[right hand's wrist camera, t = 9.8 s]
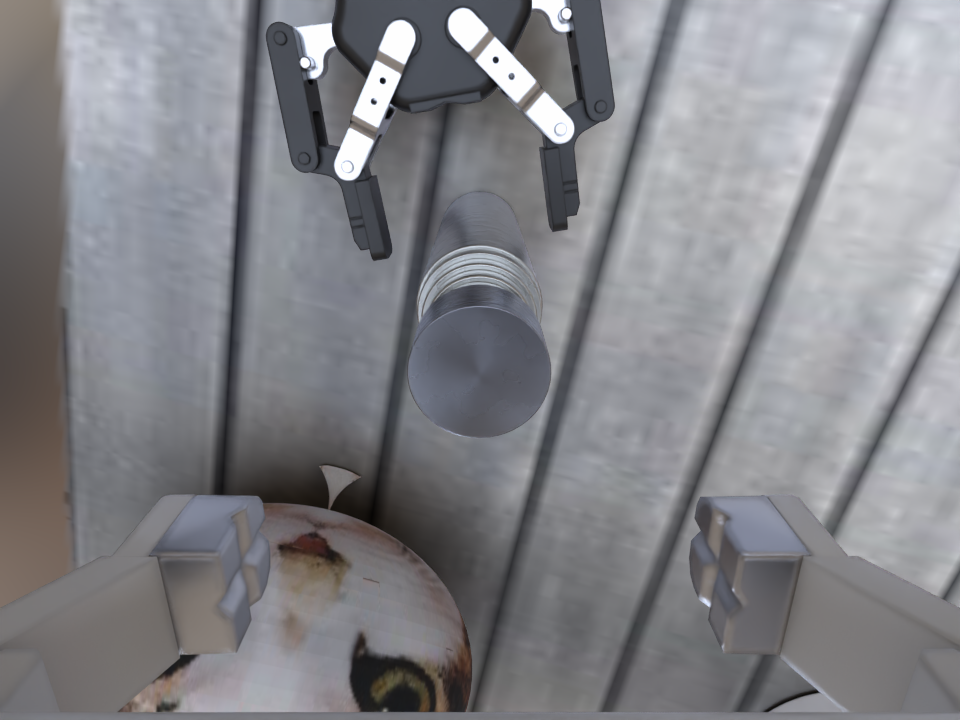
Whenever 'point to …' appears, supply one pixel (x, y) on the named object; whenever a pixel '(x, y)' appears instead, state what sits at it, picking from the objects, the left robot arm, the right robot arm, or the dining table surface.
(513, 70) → the left robot arm
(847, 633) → the right robot arm
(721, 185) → the dining table surface
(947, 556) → the dining table surface
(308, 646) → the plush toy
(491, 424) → the cap
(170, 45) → the dining table surface
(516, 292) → the bottle
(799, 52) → the dining table surface
